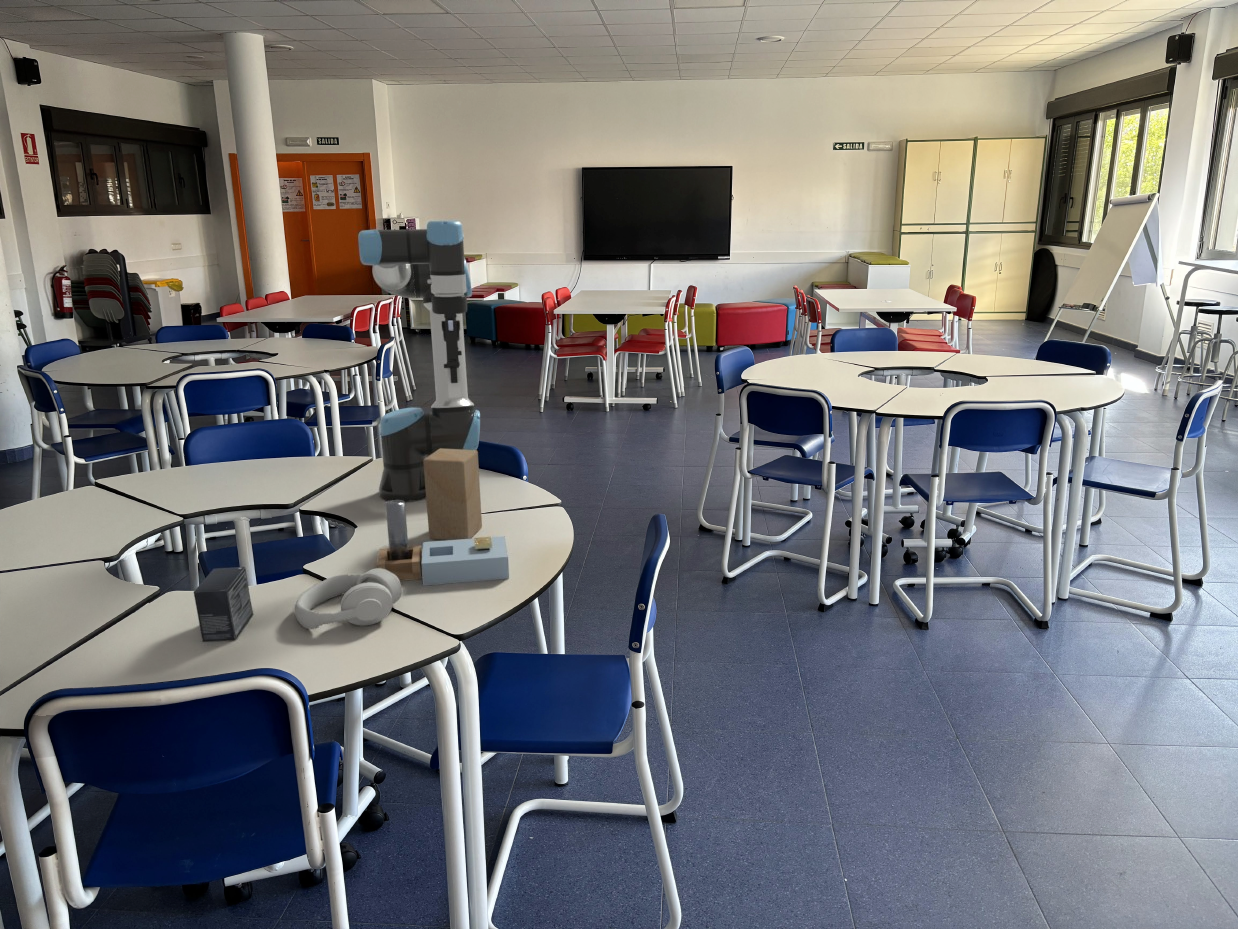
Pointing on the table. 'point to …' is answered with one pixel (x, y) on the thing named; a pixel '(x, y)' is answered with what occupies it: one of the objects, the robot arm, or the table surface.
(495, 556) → the socket block
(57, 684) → the table surface
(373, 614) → the headphones
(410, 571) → the rack
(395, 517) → the cylinder
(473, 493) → the wooden block
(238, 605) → the small box
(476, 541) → the small square tan block
